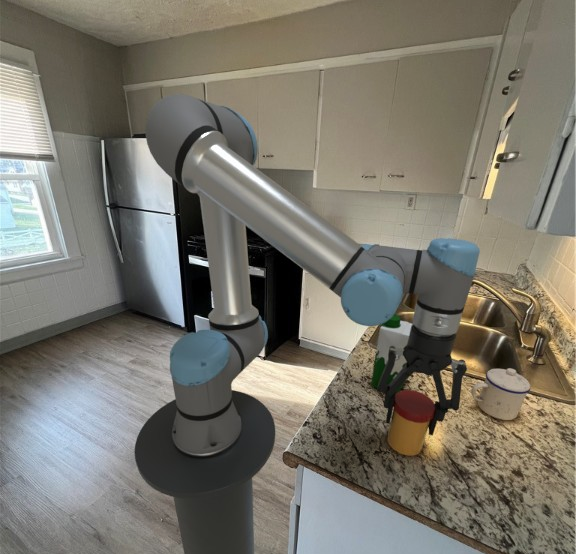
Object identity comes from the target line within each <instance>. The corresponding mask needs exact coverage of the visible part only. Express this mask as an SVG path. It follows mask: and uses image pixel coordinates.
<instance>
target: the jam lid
mask: <svg viewBox="0 0 576 554" xmlns="http://www.w3.org/2000/svg"><path fill="white" fill-rule="evenodd" d="M394 409H395V411H396V412H397V413H398V415H400V416H401V417H403V418H404V419H406V420H409V421H412V422H416V423H425V422H428V421H430V420H431V419H433V416H434V412H435V402H434V401H433V400H432V399H431V398H430V397H429V396H428V395H426V394H424V393H422V392H419V391H417V390H411V389H404V390H400V391H399V392H398V393H397V394H396V395H395V401H394V406H393V410H394Z"/></svg>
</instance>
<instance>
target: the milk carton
mask: <svg viewBox="0 0 576 554" xmlns="http://www.w3.org/2000/svg"><path fill="white" fill-rule="evenodd" d="M412 325H413V323H411V322H409V321H405V320H402V317H401V316H400V315H398V314H396V313H395V314H394V315H393V317H392V318H390V319H389V320H388V321H386V322H385V323H383V324H381V326H380V327H379V332H378V339H377V343H376V345H377V346H376V350H375V356H374V362H373V367H372V368H373V369H372V376H371V387H373V388H376V389H377V388H378V383H379V380H380V378H381V375H382V373H383V370H384V368H385V366H386V363H387V361H388V353H389V347H390V346H394V347H395V348H396V349H404V347H405V346H406V345H407V343H408V339H409V334H410V330H411V326H412ZM406 362H407V361H406V360H405V358H404V356H400V358H399V360H397V361H395V364H394V367H393V369H392V372H391V374H390V376H389V379H388V381H387V383H386V385H387V384H388V385H389V384H390V382H391V381H392V380H393V379H394V378H395V377H396V375H397V374H398V373H399V372H400V371H401V370H402V368H403V367H404V366H405V364H406ZM404 384H405V382H404V383H403V384H402V385H401V386H400V387H399V388H398V390H397V391H396V394H397V393H398V392H399V391H402V388H403V386H404ZM396 394H395V395H396Z"/></svg>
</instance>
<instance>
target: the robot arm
mask: <svg viewBox="0 0 576 554" xmlns="http://www.w3.org/2000/svg"><path fill="white" fill-rule="evenodd" d="M145 139H146V145H147V148H148V151H149V152H150V155H151V156H152V158H153V160H154V161H155V162H156V164H157V165H158V167H160V168H161V170H162V171H164V173H165V174H166V175H167V176H169V177H170V178H171V179H173V181H175V182H176V183H177V184H178V185H180V186H181V187H182V188H184V190H186V191H188V192H189V193H192V194H197V195H198V197H199V202H200V210H201V218H202V225H203V233H204V240H205V247H206V255H207V256H206V257H207V263H208V271H209V272H208V273H209V280H210V287H211V294H212V295H211V297H212V303H213V309H212V310H211V311H210V312H209V313H208V315H207V317H208V323H209V329H199V330H197V331H196V332H193V331H192V332H189V333H186V334H185V335H183V336H181V337H180V338H179V339H177V341H175V343H174V344H173V345H172V347H171V349H170V351H169V373H170V375H171V381H172V388H173V394H174V400H175V399H176V405H177V413H176V416H175V420H174V424H173V429H172V438H173V443H174V446H175V447H176V449H177V450H178V451H179V452H180V453H182V454H183V455H185V456H187V457H191V458H197V459H205V458H211V457H215V456H218V455H220V454H223V453H224V452H226V451H228V450H229V449H230V448H232V447H233V446H234V445H235V444H236V442H237V441H238V440H239V438H240V435H241V432H242V422H241V418H240V415H239V414H240V413H238V410H236V407H235V406H234V403H233V401H232V390H233V389H232V384H233V382H234V381H235V380H236V378H237V377H238V376H239V375H240V374H241V373H242V372H243V371H244V370H245V369H246V368H247V367H249V365H250V364H251V363H252V362H253V361H255V359H257V357H259V355H260V354H261V353H262V352H263V350H264V348H265V347H266V345H267V343H268V339H269V332H268V327H267V324H266V322H265V321H264V320H262V317H261V315H260V314H259V309H258V308H256V307H255V306H254V305H253V304H252V294H251V281H250V280H251V279H250V266H249V265H250V264H249V254H248V240H247V228H248V229H249V230H251V231H252V232H253V233H255V234H256V235H257V236H259V237H260V238H262V239H263V240H264V241H265V242H267V243H268V244H270V245H271V246H272V247H273V248H274V249H276V250H277V251H278V252H280V253H281V254H282V255H284V256H285V257H287V258H288V259H289V260H291V261H292V262H293V263H294V264H296V265H297V266H298V267H300V268H301V269H303V270H304V271H305V272H306V273H308V274H309V275H310V276H312V277H313V278H314V279H315V280H317V281H318V282H319V283H321V284H322V285H323V286H325V287H327V288H328V289H329V290H330V291H331V292H333V293H334V294H335V295H336V296H338V297H339V298H340V305H341V308H342V311H343V312H344V313H345V315H346V316H347V318H348V319H349V320H351V321H352V322H354V323H355V324H357V325H361V326H365V327H376V326H380V325H382V324H383V323H385V322H386V321H388V320H389V319H390V318H392V317H393V315H394V314H395V315H396V312H397V310H398V308H399V307H400V304H401V302H402V301H403V297H404V294H410V295H417V299H416V304H415V307H414V311H413V316H412V324H413V325H412V326H411V330H410V334H409V339H408V343H407V345H406V346H405V347H404V349H396V348H395V347H394V346H390V347H389V353H388V361H387V363H386V366H385V368H384V370H383V373H382V375H381V378H380V380H379V383H378V388H376V390H377V392H378V393H382V394H384V399H383V404H382V405H383V408H385V409H387V411H386V419H385V424H388V425H390V423H391V418H392V414H393V410H394V407H393V406H394V401H395V394H396V391H397V390H398V388H399V387H400V386H401V385H402V384H403V383H404V384H405V382H406V381H407V379H408V378H409V377H411V376H412V375H413V374H414V373H415V374H424V375H426V376H428V377H429V376H430V377H432V380H433V382H434V386H435V390H436V393H437V394H436V395H437V398H438V401H437V400H435V402H434V404H435V412H434V416H433V419H431V420H430V423H429V426H428V435H429V436H433V435H434V433H435V430H436V427H437V423H438V422H440V423H442V422H444V420H445V417H446V414H447V413H448V412H449V410H453V411H458V410H459V409H460V404H461V393H462V383H463V378H464V376H465V374H466V372H467V371H468V367H467V364H466V360H465V359H459V360H457V359H456V358H453V357H452V352H453V348H454V345H455V341H456V338H457V334H456V333H457V332H458V331H459V328H460V324H461V321H462V317H463V314H464V309H465V308H466V303H467V301H468V297H469V293H470V290H471V287H472V285H473V281H474V278H475V276H476V271H477V265H478V261H479V256H480V252H481V250H480V248H479V246H478V245H477V244H476V243H474V242H472V241H469V240H464V239H458V238H450V237H449V238H448V237H447V238H445V237H444V238H443V237H440V238H438V237H437V238H433V239H432V240H431V241H430V242H429V245H428V247H427V249H415V248H406V247H405V248H404V247H397V246H388V245H380V244H377V243H374V244H360V243H358V242H357V241H356V240H354V239H353V238H351V237H350V236H349V235H348V234H346V233H344V232H343V231H342V230H340V229H339V228H338V227H337V226H335V225H334V224H332V223H331V222H330V221H329V220H327V219H326V218H325V217H323V216H322V215H321V214H319V213H318V212H316V211H315V210H313V209H312V208H311V207H309V206H308V205H307V204H305V203H304V202H303V201H301V200H300V199H299V198H297V197H296V196H295V195H293V193H290V192H289V191H288V190H287V189H285V188H284V187H282V186H281V185H280V184H278V183H277V182H276V181H274V180H273V179H272V178H270V177H269V176H267V175H266V174H265V173H264V172H262V171H260V170H259V169H258V168H257V167H255V166H254V165H255V164H256V162H257V157H258V151H259V149H258V148H259V147H258V146H259V145H258V140H257V137H256V134H255V131H254V129H253V127H252V125H251V124H250V122H248V120H247V119H246V118H245V117H244V116H243V115H241V114H239V113H238V112H236V111H235V110H234V109H231V108H230V107H228V106H225V105H218V104H216V103H212V102H208V101H206V100H203V99H200V98H196V97H194V96H192V95H188V94H183V93H178V94H177V93H175V94H168V95H166V96H164V97H162V98H160V99H159V100H157V102H156V103H154V105H153V106H152V107H151V109H150V110H149V113H148V114H147V117H146V123H145ZM246 227H247V228H246ZM400 356H404V358H405V360H406V361H407V362H406V364H405V366H404V367H403V368H402V370H401V371H400V372H399V373H398V374H397V375H396V377H395V378H394V379H393V380H392V381H391V382H390V384H389V385H388V384H387V385H386V383H387V381H388V379H389V376H390V374H391V372H392V369H393V367H394V364H395V361H397V360H399V358H400ZM450 366H451V371H452V380H451V381H452V382H451V392H450V393H451V394H450V398H449V399H447V395H446V392H445V388H444V384H443V380H442V373H441V372H442V371H443V370H445V369H446V368H448V367H450ZM404 384H403V385H404Z"/></svg>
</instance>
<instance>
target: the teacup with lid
mask: <svg viewBox="0 0 576 554" xmlns="http://www.w3.org/2000/svg"><path fill="white" fill-rule="evenodd" d="M479 389H480V393H479V394H478V395H479V396H477V395H476V394H477V393H476V392H477V391H478V390H479ZM530 391H531V384H530V382H529V381H528V380H527V378H526V377H524V376H523V375H521V374H519V373H517V370H516V369H514V368H511V367H509V368H506V369H504V368H491V369H490V370H488V371H487V372H486V373H485V379H484V381H483V382H479V383H475V384H473V386H472V388H471V390H470V394H471V397H472V398H473V399H474V400H476V401H477V405H478V407H479V409H481V411H482V412H484V413H485V414H487V415H489V416H491V417H493V418H495V419H497V420H503V421H511V420H514V419H516V418H517V417H518V414H519V412H520V410H521V408H522V406H523V404H524V402H525V400H526V397H527V395H528V393H530Z"/></svg>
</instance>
